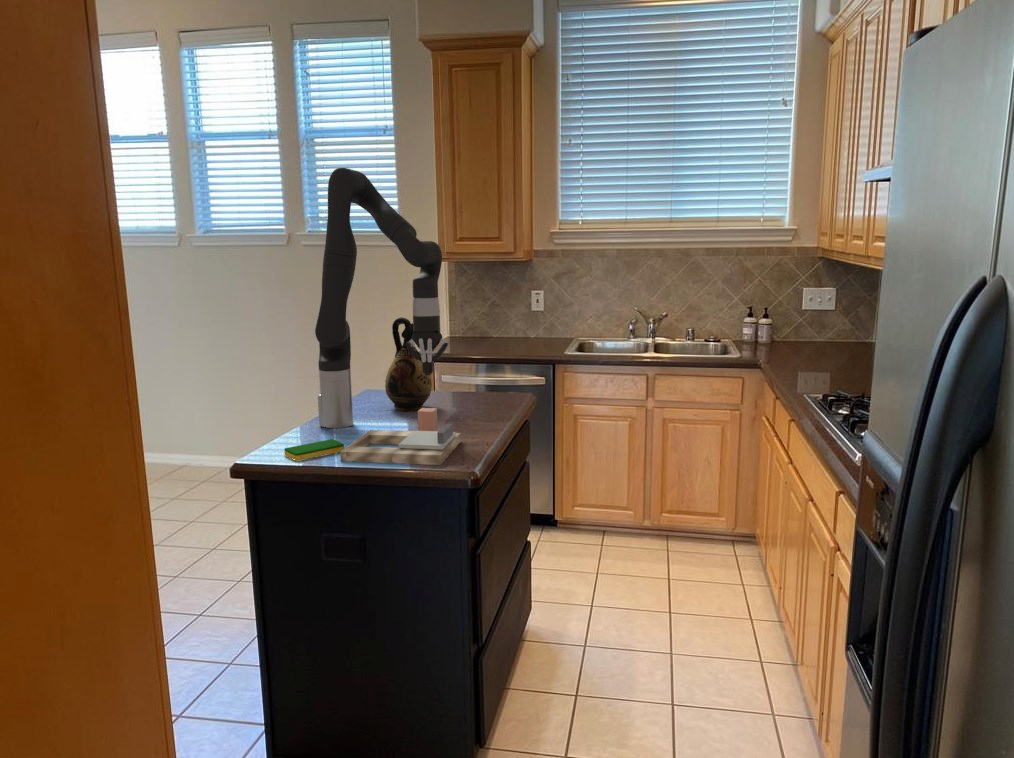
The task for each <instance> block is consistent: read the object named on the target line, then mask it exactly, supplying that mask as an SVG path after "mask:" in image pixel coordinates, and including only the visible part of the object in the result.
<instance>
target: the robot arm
mask: <svg viewBox="0 0 1014 758" xmlns="http://www.w3.org/2000/svg"><path fill="white" fill-rule="evenodd" d="M327 183H328V184H327V221H326V231H325V232H326V234H325V245H324V250H323V251H324V252H323V260H322V273H321V274H322V277H321V300H320V304H319V305H320V306H319V310H318V311H319V312H318V316H317V319H316V324H315V328H314V334H315V338H316V340H317V342H318V345H319V354H318V355H319V356H318V377H319V394H318V395H317V405H318V406H317V407H318V426H319V427H320V426H322V428H325V427H326V428H327V429H342V428H343V429H344V428H348V427H350V426H351V427H352V426H353V425H354V415H353V414H354V413H353V412H354V411H353V394H352V393H353V392H352V391H353V390H352V389H353V388H352V375H351V374H352V372H351V359H352V355H351V354H352V353H351V348H352V347H351V344H352V343H351V328H350V324H349V323H348V320H347V308H348V307H347V306H348V299H349V295H350V292H351V288H352V285H353V282H354V277H355V272H356V266H357V265H356V264H357V255H358V249H357V248H358V247H357V244H356V239H355V236H354V233H353V230H352V226H351V218H350V217H351V205H352V204H355V205H357V206H359V207H361V208H362V209H363V210H365V211H366V212H367V213H368V214H369V215H370V216H371V217H372V218H373V220H374V222H375V223H376V227H378V229H379V230H380V231H381V232H382V233H383V234H384V236H385V237H387V238H388V239H389V241H391V242H392V243H393V244H394V245H395V246H396V247H397V249H398V250H399V252H400V254H401V255H402V257H403V259H405V260H406V261H405V262H407V263H408V264H410V265H412V267H415V268H419V274H418V275H417V276H415V277H414V278H413V280H412V323H413V335H412V339H411V340H410V341H409V342H407V343H405V346H406V347H407V349H408V350H409V351H410V352H411V354H412V355H413V356H414V357H415V359H416V360H420V361H422V367H423V373H425V375H430V376H431V375H432V374H433V373H434V370H435V369H434V362H435V361H438V360H439V359H440V358H441V357H442V356H443V354H444V353H445V351H446V350H447V349H448V347H449V346H450V342H449V341H446V340H445V339H444V338H443V335H442V334H441V315H440V314H441V309H440V300H439V278H440V276H441V275H440V274H441V268H442V264H443V263H442V261H443V253H442V250H441V247H440V246H439V244H438V243H437V242H435V241H432V240H420V239H418V238H417V236H418V235H417V229H415V227H414V226H413V225H412V224H411V223H409V221H408V220H406V219H405V218H404V216H402V215H401V214H400V213H398V211H396V209H394V208H393V207H392V206H391V204H389V202H387V200H386V199H385V198H384V196H382V195H381V194H380V192H379V191H378V190H377V188H376V187H375V185H373V183H372V182H371V180H370V179H369V178H368V177H367V175H365V174H364V173H363V172H361V171H358V170H355V169H351V168H348V167H337V168H335V169H334V170H332V172H331V173H330V176H329V178H328V182H327ZM414 346H415V347H416V348H415V347H414ZM438 346H439V347H440V348H439V350H438V351H437V352H436V353H435V351H436V349H437V347H438ZM417 348H418V349H419V350H418V349H417Z"/></svg>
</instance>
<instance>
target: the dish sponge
mask: <svg viewBox="0 0 1014 758" xmlns="http://www.w3.org/2000/svg"><path fill="white" fill-rule="evenodd" d="M344 448H346V446H345V443H343V442H340V441H338V440H336V439H332V438H330V439H325V440H320V441H315V442H309V443H305V444H301V445H300V444H299V445H295V446H290V447H285V448H284V456H285V455H286V456H288V457H290V458H293V459H295V460H300V461H303V460H302V459H305V460H308V459H307V458H310V459H312V458H311V457H315V458H317V457H316V456H320V457H322V456H321V455H324V456H326V455H325V454H329V455H332V454H331V453H334V454H337V453H336V452H339V453H340V451H342V450H343V449H344ZM286 456H285V457H286ZM288 457H287V458H288ZM290 458H289V459H290ZM293 459H292V460H293ZM295 460H294V461H295Z"/></svg>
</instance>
